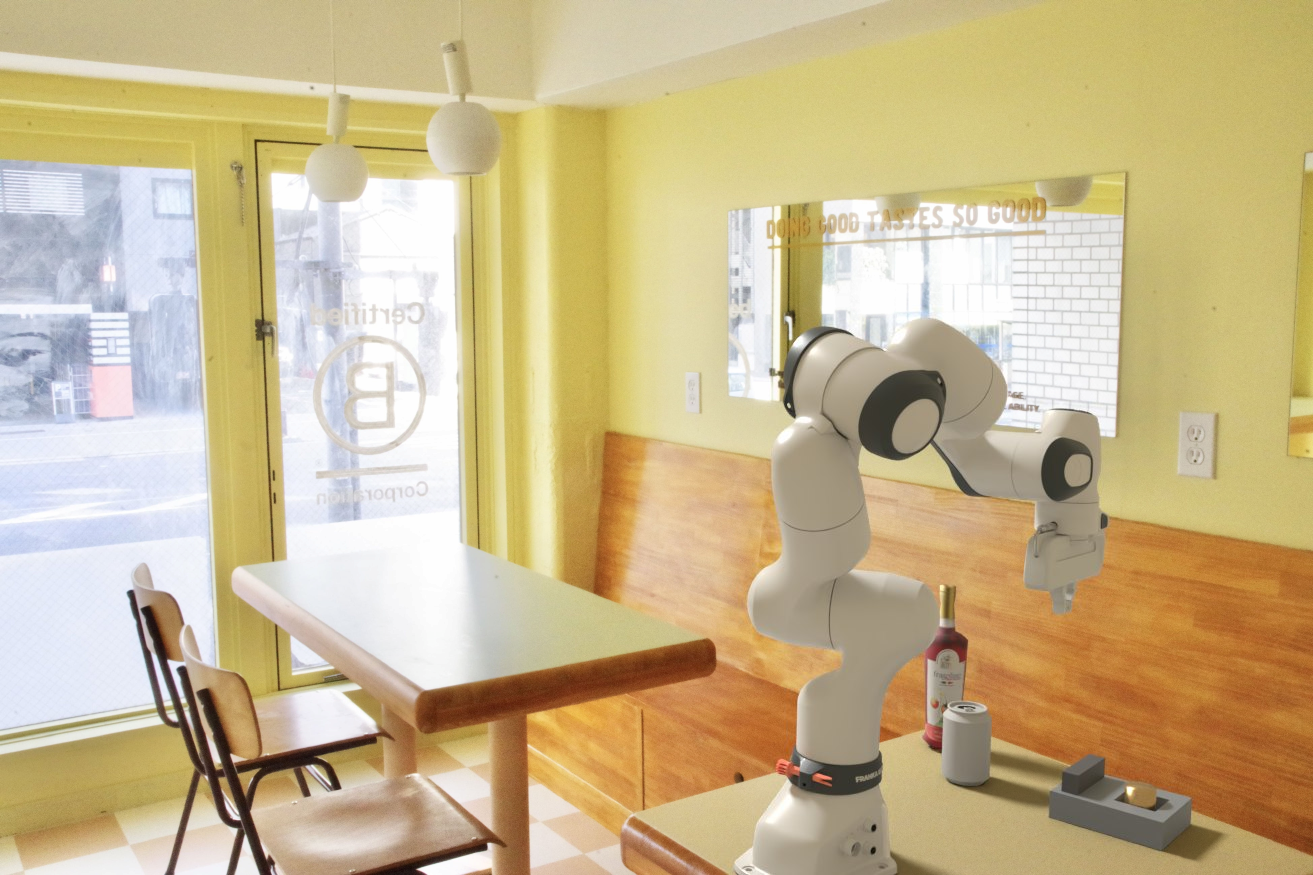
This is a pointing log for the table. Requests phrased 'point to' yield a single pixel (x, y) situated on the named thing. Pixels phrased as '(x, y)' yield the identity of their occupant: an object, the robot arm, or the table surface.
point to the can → (966, 743)
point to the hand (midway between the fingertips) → (1062, 612)
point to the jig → (1116, 806)
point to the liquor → (943, 669)
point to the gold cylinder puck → (1140, 795)
